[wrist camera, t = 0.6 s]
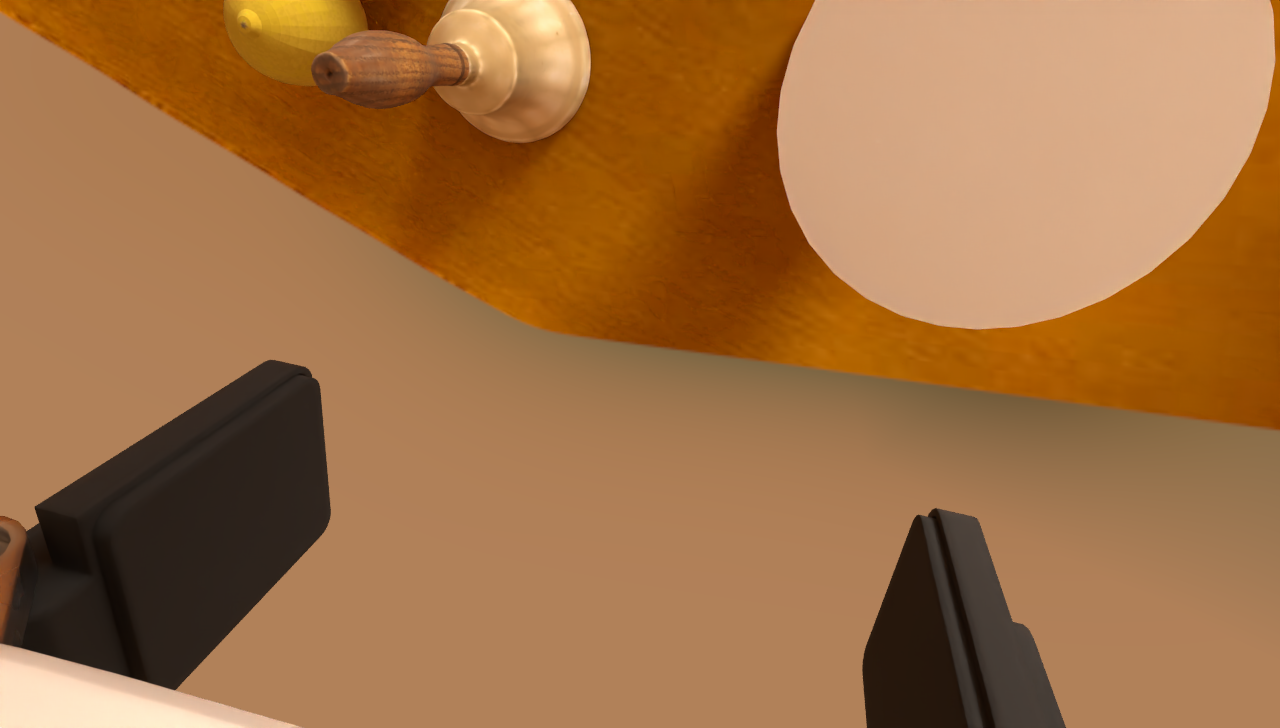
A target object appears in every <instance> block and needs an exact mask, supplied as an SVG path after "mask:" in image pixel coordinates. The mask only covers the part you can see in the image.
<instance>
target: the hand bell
mask: <svg viewBox="0 0 1280 728" xmlns="http://www.w3.org/2000/svg"><path fill="white" fill-rule="evenodd" d="M590 68H591V55H590V46H589V40H588V37H587V33H586V30H585V27H584V24H583V21H582V19H581V17H580V15H579V13H578V12H577V10H576V8H575V6H574V5H573V3H572V2H571V1H570V0H449V1H448V3H447V5H446V7H445V9H444V11H443V13H442V16H441V19H440V20H439V21H438V22H437V24H436V25H435V26H434V28H433V29H432V31H431V34H430V36H429V39H428V41H427V45H425V46H424V45H421V44H420V43H419V42H418V41H416V40H414V39H412V38H410V37H408V36H406V35H403V34H400V33H396V32H391V31H384V30H367V31H361V32H357V33H353V34H351V35H349V36H347V37H345V38H343V39H342V40H340V41H339V42H338V43H336V44H335V45H333V46H332V48H331V49H329V50H327V51H325V52H322V53H320V54H318V55H317V56H316V57H315V58H314V60H313V62H312V65H311V72H312V76H313V80H314V82H315V84H316V85H317V86H318V87H319V88H320V90H321V91H323V92H324V93H326V94H330V95H336V96H339V97H341V98H343V99H345V100H347V101H349V102H351V103H353V104H356V105H360V106H363V107H366V108H375V109H386V108H392V107H397V106H401V105H404V104H406V103H409V102H412V101H413V100H415V99H417V98H419V97H420V96H421V95H423V94H424V93H425V92H426V91H427V90H428V89H429V87H431V86H434V88H435V90H436V91H437V93H438V94H439V95H440V97H441V98H442V99H443V100H444V101H445V102H446V103H448V104H449V105H450V106H451V107H453V108H455V109H456V110H458V111H459V112H460V113H461V114H462V115H463V116H464V118H465V119H466V120H468V121H469V122H470V123H471V124H472V125H473V126H475V127H476V128H477V129H479V130H480V131H482V132H483V133H485V134H487V135H489V136H491V137H494V138H496V139H499V140H502V141H506V142H513V143H528V142H534V141H537V140H541V139H543V138H546V137H548V136H551V135H552V134H554V133H556V132H557V131H559V130H560V129H562V127H563V126H564V125H566V124H567V123H568V122H569V121H570V120H571V118H572V117H573V116H574V115H575V113H576V112H577V110H578V109H579V107H580V105H581V103H582V101H583V98H584V96H585V94H586V91H587V88H588V84H589V78H590Z"/></svg>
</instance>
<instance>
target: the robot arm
mask: <svg viewBox="0 0 1280 728" xmlns="http://www.w3.org/2000/svg"><path fill="white" fill-rule="evenodd" d="M35 510H36V513H37V517H38V520H39V524H37V525H35V526H34V527H33V528H31V529H29V530H28V531H26V529H25V528H24V527H23V526H22V525H21V524H20V523H19V522H18V521H16V520H13V519H10V518H8V517H5V516H0V728H303V727H299V726H296V725H292V724H289V723H285V722H282V721H279V720H275V719H271V718H268V717H265V716H261V715H258V714H254V713H251V712H247V711H244V710H241V709H237V708H234V707H230V706H227V705H223V704H220V703H216V702H213V701H209V700H206V699H202V698H199V697H195V696H192V695H188V694H185V693H182V692H178V691H175V690H176V689H177V688H178V687H179V686H180V684H181V683H182V682H183V681H184V680H185V679H186V678H187V677H188V676H189V675H190V674H191V673H192V672H193V671H194V669H196V668H197V667H198V665H199V664H200V663H201V662H202V661H203V660H204V659H205V658H206V657H207V656H208V655H209V654H210V653H211V652H212V651H213V650H214V649H215V647H216V646H217V645H218V644H219V643H220V642H221V641H222V640H223V639H224V638H225V637H226V636H227V635H228V634H229V633H230V631H232V629H233V628H234V627H235V626H236V625H237V624H238V623H239V622H240V621H241V620H242V619H243V618H244V617H245V616H246V615H247V614H248V613H249V611H250V610H251V609H252V608H253V607H254V606H255V605H256V604H257V603H258V602H259V601H260V600H261V599H262V598H263V596H265V594H266V593H267V592H268V591H269V590H270V589H271V588H272V587H273V586H274V585H275V584H276V583H277V582H278V581H279V580H280V578H281V577H282V576H283V575H284V574H285V573H286V572H287V571H288V570H289V569H290V568H291V567H292V566H293V565H294V564H295V563H296V562H297V561H298V560H299V558H300V557H301V556H302V555H303V554H304V553H305V552H306V551H307V550H308V549H309V548H310V547H311V546H312V545H313V544H314V542H315V541H316V540H317V539H318V538H319V537H320V536H321V535H322V534H323V533H324V531H325V529H326V528H327V526H328V523H329V520H330V514H331V509H330V498H329V486H328V474H327V462H326V452H325V440H324V428H323V416H322V405H321V393H320V386H319V383H318V381H317V380H316V379H314V378H312V374H311V372H310V371H309V369H307V368H306V367H302V366H298V365H294V364H289V363H285V362H280V361H276V360H268V361H266V362H264V363H262V364H261V365H259V366H257V367H256V368H254V369H252V370H251V371H249V372H248V373H246V374H244V375H243V376H241V377H240V378H238V379H237V380H235V381H234V382H232V383H230V384H229V385H227V386H225V387H224V388H222V389H221V390H219V391H218V392H216V393H214V394H213V395H211V396H210V397H208V398H207V399H205V400H204V401H202V402H200V403H199V404H197V405H196V406H194V407H192V408H191V409H189V410H187V411H186V412H184V413H183V414H181V415H179V416H178V417H177V418H175V419H173V420H172V421H170V422H168V423H167V424H165V425H164V426H162V427H161V428H159V429H158V430H156V431H154V432H153V433H151V434H149V435H148V436H146V437H145V438H143V439H142V440H140V441H138V442H137V443H135V444H133V445H132V446H130V447H129V448H127V449H126V450H124V451H122V452H121V453H119V454H118V455H116V456H115V457H113V458H111V459H110V460H108V461H107V462H105V463H103V464H102V465H100V466H99V467H97V468H96V469H94V470H92V471H91V472H89V473H88V474H86V475H84V476H83V477H81V478H80V479H78V480H77V481H75V482H73V483H72V484H70V485H69V486H67V487H65V488H64V489H62V490H61V491H59V492H57V493H56V494H54V495H53V496H51V497H49V498H48V499H46V500H45V501H43V502H42V503H40V504H38V505H37V506H35ZM863 684H864V696H865V709H866V721H867V728H1066V727H1065V724H1064V721H1063V718H1062V716H1061V713H1060V710H1059V707H1058V705H1057V702H1056V699H1055V696H1054V694H1053V691H1052V688H1051V686H1050V682H1049V680H1048V677H1047V674H1046V671H1045V669H1044V666H1043V663H1042V661H1041V658H1040V655H1039V652H1038V649H1037V647H1036V644H1035V641H1034V638H1033V637H1032V635H1031V633H1030V631H1029V629H1028V628H1027V627H1025V626H1024V625H1023V624H1019V623H1015V622H1013V621H1012V619H1011V616H1010V613H1009V610H1008V607H1007V604H1006V601H1005V598H1004V595H1003V592H1002V589H1001V586H1000V583H999V580H998V577H997V574H996V571H995V568H994V565H993V562H992V559H991V556H990V553H989V550H988V547H987V544H986V542H985V538H984V535H983V532H982V529H981V526H980V523H979V522H978V520H977V518H975V517H972V516H967V515H964V514H959V513H955V512H950V511H946V510H941V509H937V508H935V509H933V510H932V511H931V512H930V513H929V515H928V517H926V516H922V515H917V516H916V517H915V519H914V520H913V523H912V525H911V528H910V530H909V533H908V536H907V538H906V541H905V544H904V546H903V549H902V552H901V554H900V557H899V560H898V563H897V565H896V568H895V570H894V573H893V576H892V578H891V581H890V584H889V586H888V589H887V592H886V594H885V597H884V600H883V602H882V605H881V608H880V610H879V613H878V616H877V618H876V621H875V624H874V626H873V630H872V632H871V635H870V637H869V640H868V642H867V645H866V648H865V653H864V659H863Z"/></svg>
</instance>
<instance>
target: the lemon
mask: <svg viewBox="0 0 1280 728" xmlns="http://www.w3.org/2000/svg"><path fill="white" fill-rule="evenodd" d="M223 17H224V22H225V27H226V30H227V33H228V35H229V38H230V40H231V42H232V44H233V46H234V47H235V49H236V50H237V52H238V53H239V54H240V56H241V57H242V58H243V59H244V60H245V61H246V62H247V63H248V64H249V65H250V66H252V67H253V68H254V69H256V70H257V71H258V72H260V73H261V74H263V75H265V76H267V77H270V78H272V79H275V80H277V81H280V82H283V83H286V84H292V85H300V86H317V85H316V84H315V82H314V80H313V76H312V72H311V65H312V62H313V60H314V58H315V57H316V56H317V55H318V54H320V53H322V52H325V51H327V50H329V49H331V48H332V46H333V45H335V44H336V43H338V42H339V41H340V40H342V39H343V38H345V37H347V36H349V35H351V34H353V33H357V32H361V31H367V30H368V23H367V19H366V14H365V11H364V9H363V7H362V5H361V2H360V0H224V5H223Z"/></svg>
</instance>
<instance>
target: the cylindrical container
mask: <svg viewBox="0 0 1280 728" xmlns="http://www.w3.org/2000/svg"><path fill="white" fill-rule="evenodd" d="M1274 66H1275V43H1274V19H1273V9H1272V6H1271V2H1270V0H815V2H814V4H813V6H812V8H811V10H810V12H809V14H808V17H807V19H806V21H805V23H804V25H803V27H802V29H801V31H800V33H799V35H798V37H797V39H796V41H795V43H794V46H793V49H792V52H791V56H790V59H789V63H788V66H787V70H786V74H785V77H784V81H783V84H782V88H781V93H780V104H779V114H778V125H777V140H778V152H779V164H780V172H781V176H782V179H783V183H784V186H785V190H786V193H787V197H788V200H789V204H790V208H791V210H792V212H793V214H794V216H795V218H796V220H797V221H798V223H799V225H800V227H801V229H802V231H803V233H804V235H805V237H806V239H807V241H808V242H809V244H810V245H811V246H812V248H813V249H814V250H815V251H816V252H817V254H818V255H819V256H820V257H821V258H822V260H823V261H824V262H825V263H826V264H827V266H828V267H829V268H830V269H831V270H832V271H833V273H834V274H835V275H836V276H838V277H839V278H840V279H842V280H843V281H844V282H846V283H847V284H848V285H849V286H851V287H852V288H853V289H855V290H856V291H857V292H859V293H860V294H861V295H862V296H864V297H865V298H866V299H868V300H870V301H873V302H875V303H877V304H879V305H881V306H883V307H885V308H887V309H889V310H891V311H893V312H895V313H897V314H899V315H901V316H905V317H909V318H912V319H916V320H920V321H924V322H927V323H931V324H935V325H939V326H947V327H958V328H969V329H990V328H1004V327H1018V326H1023V325H1027V324H1032V323H1036V322H1040V321H1045V320H1049V319H1054V318H1058V317H1062V316H1064V315H1067V314H1069V313H1072V312H1074V311H1077V310H1079V309H1082V308H1084V307H1087V306H1089V305H1092V304H1094V303H1097V302H1099V301H1102V300H1104V299H1107V298H1108V297H1110V296H1112V295H1113V294H1115V293H1117V292H1118V291H1120V290H1122V289H1123V288H1125V287H1127V286H1128V285H1130V284H1132V283H1133V282H1135V281H1137V280H1138V279H1140V278H1142V277H1143V276H1145V275H1146V274H1148V273H1150V272H1151V271H1152V270H1153V269H1155V268H1156V267H1157V266H1158V265H1159V264H1160V263H1162V262H1163V261H1164V260H1165V259H1166V258H1168V257H1169V256H1170V255H1171V254H1172V253H1173V252H1175V251H1176V250H1177V249H1178V248H1179V247H1181V246H1182V245H1183V244H1184V243H1185V242H1186V241H1188V240H1189V239H1190V238H1191V237H1192V236H1193V234H1194V233H1195V232H1196V231H1197V230H1198V228H1199V227H1200V226H1201V225H1202V224H1203V223H1204V221H1205V220H1206V219H1207V218H1208V217H1209V215H1210V214H1211V213H1212V212H1213V211H1214V210H1215V208H1216V207H1217V206H1218V205H1219V204H1220V202H1221V201H1222V200H1223V199H1224V198H1225V196H1226V194H1227V192H1228V191H1229V189H1230V187H1231V186H1232V184H1233V182H1234V181H1235V179H1236V177H1237V175H1238V174H1239V172H1240V170H1241V169H1242V167H1243V165H1244V164H1245V162H1246V160H1247V158H1248V157H1249V155H1250V153H1251V150H1252V148H1253V145H1254V142H1255V140H1256V137H1257V134H1258V132H1259V129H1260V126H1261V124H1262V121H1263V118H1264V116H1265V113H1266V110H1267V106H1268V100H1269V95H1270V89H1271V83H1272V77H1273V72H1274Z"/></svg>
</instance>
